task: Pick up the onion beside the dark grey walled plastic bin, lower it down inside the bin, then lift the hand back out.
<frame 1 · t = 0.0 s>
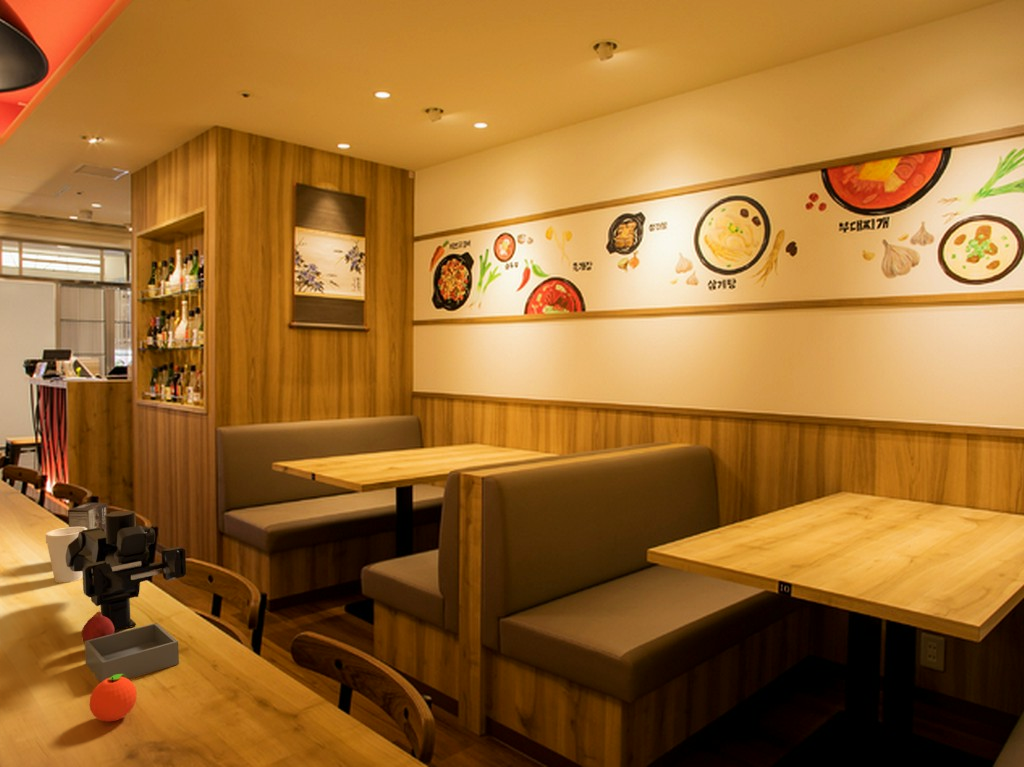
hand: (149, 580, 140), 17 cm above the table, tool horizontal, fingers open, 9 cm apart
onion: (99, 650, 147), on the table
clementine: (115, 718, 120), on the table
bin: (132, 663, 140), on the table
coffee box: (90, 561, 208), on the table
foam cup: (69, 579, 192), on the table
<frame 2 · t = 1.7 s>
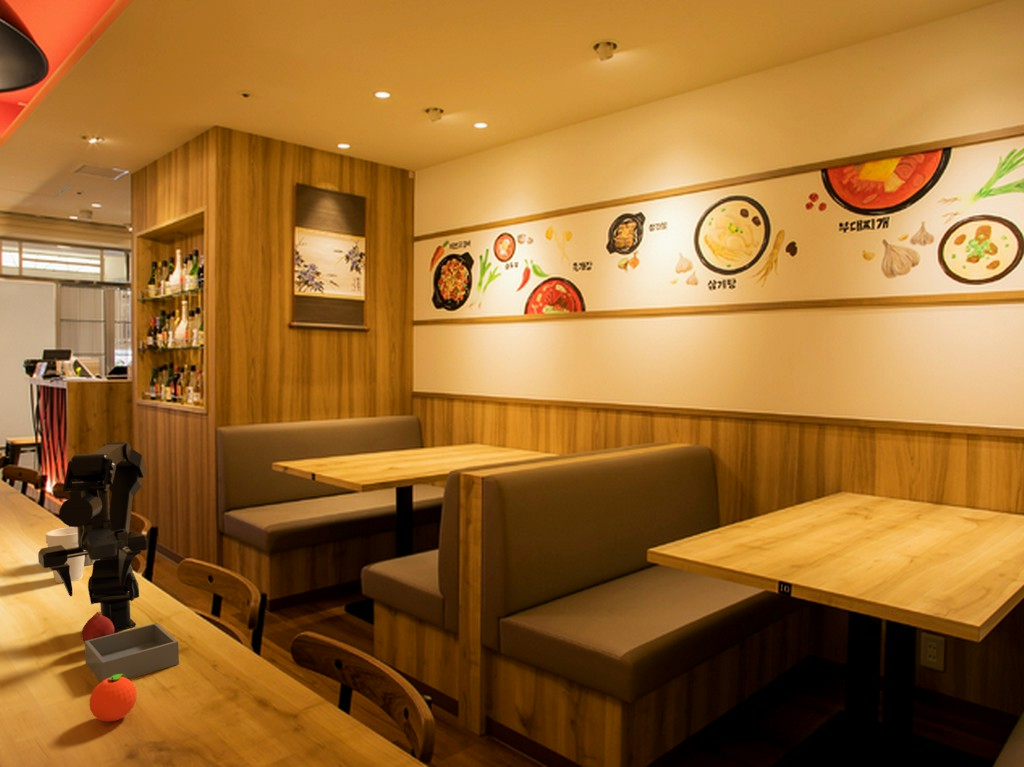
hand: (96, 590, 146), 12 cm above the table, tool pointing down, fingers open, 9 cm apart
nothing on the table moved.
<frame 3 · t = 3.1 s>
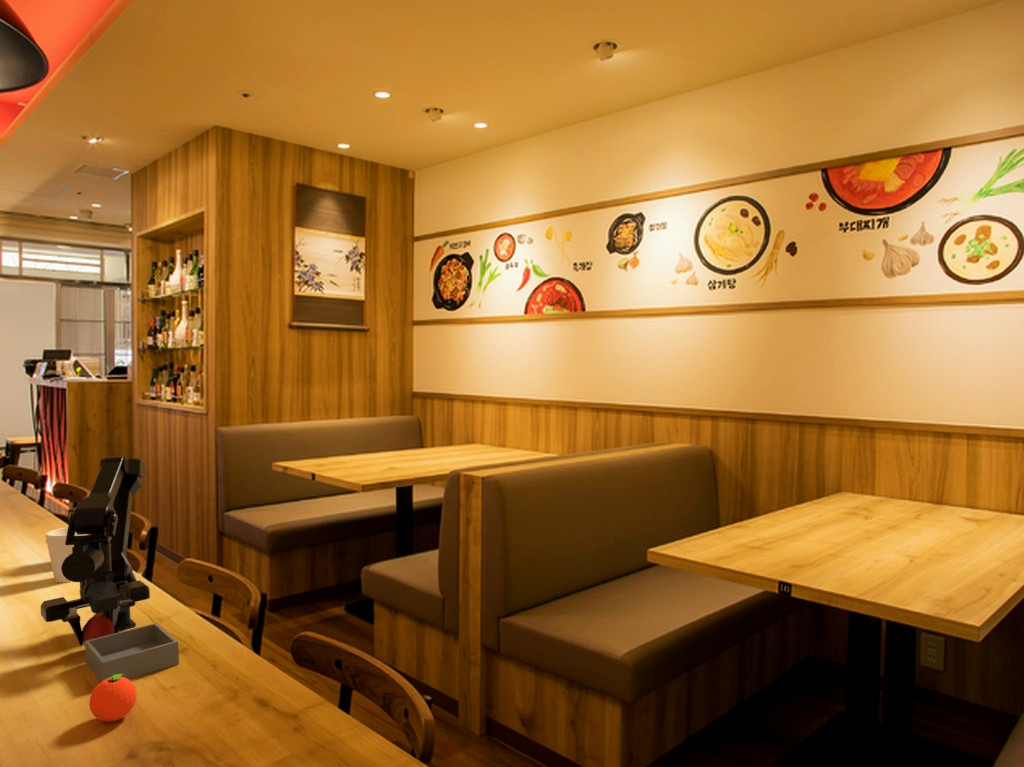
hand: (98, 640, 147), 2 cm above the table, tool pointing down, fingers closed on onion, 6 cm apart
onion: (99, 650, 147), on the table, touching gripper
everything else where it was.
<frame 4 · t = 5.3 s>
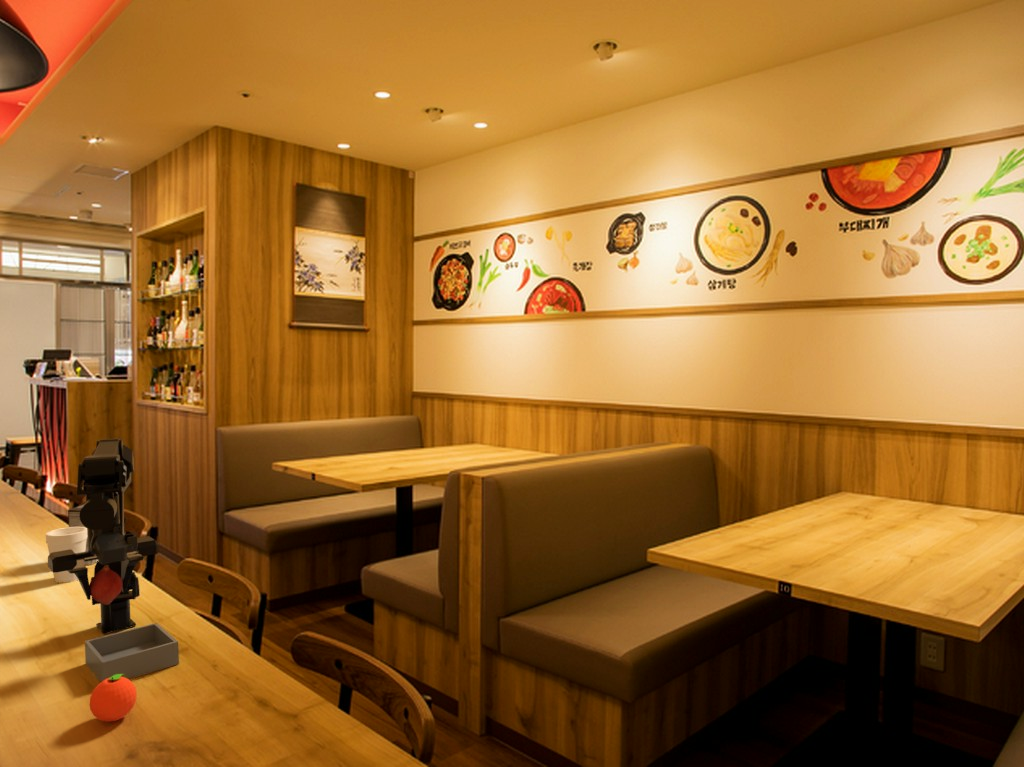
hand: (106, 595, 144), 12 cm above the table, tool pointing down, fingers closed on onion, 6 cm apart
onion: (106, 605, 144), point 10 cm above the table, touching gripper
everything else where it was.
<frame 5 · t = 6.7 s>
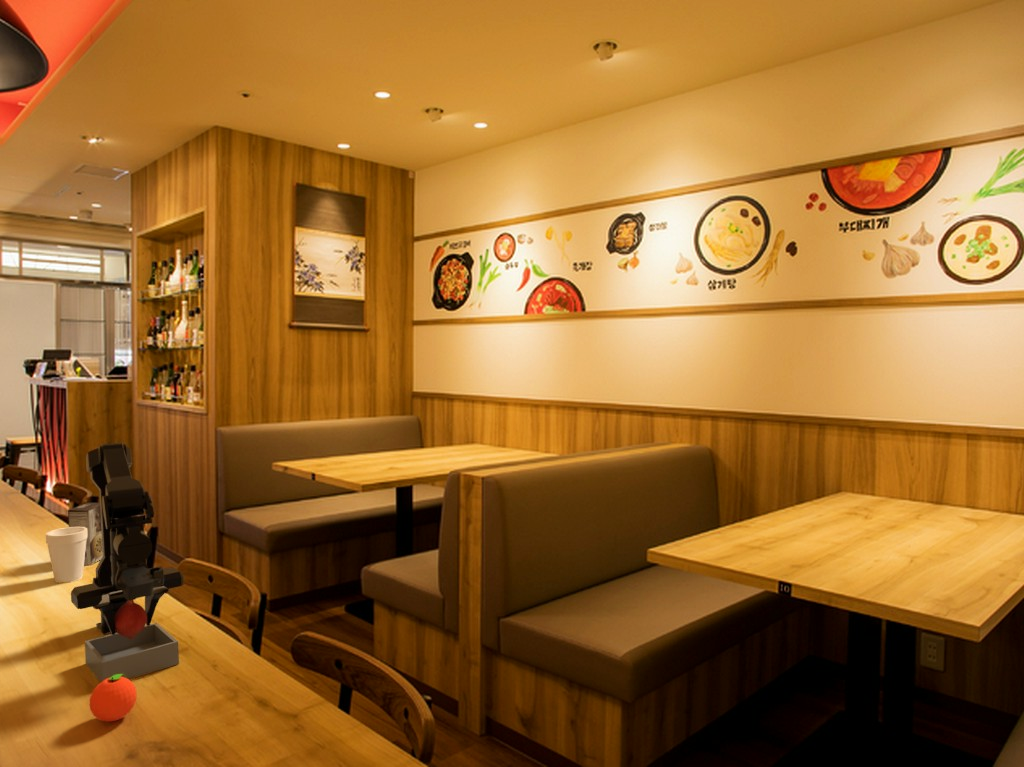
hand: (130, 629, 140), 7 cm above the table, tool pointing down, fingers closed on onion, 6 cm apart
onion: (130, 639, 140), point 5 cm above the table, touching gripper
everything else where it was.
when the fingers open (5 cm above the table, at t = 7.5 s): onion drops 2 cm, resting on bin.
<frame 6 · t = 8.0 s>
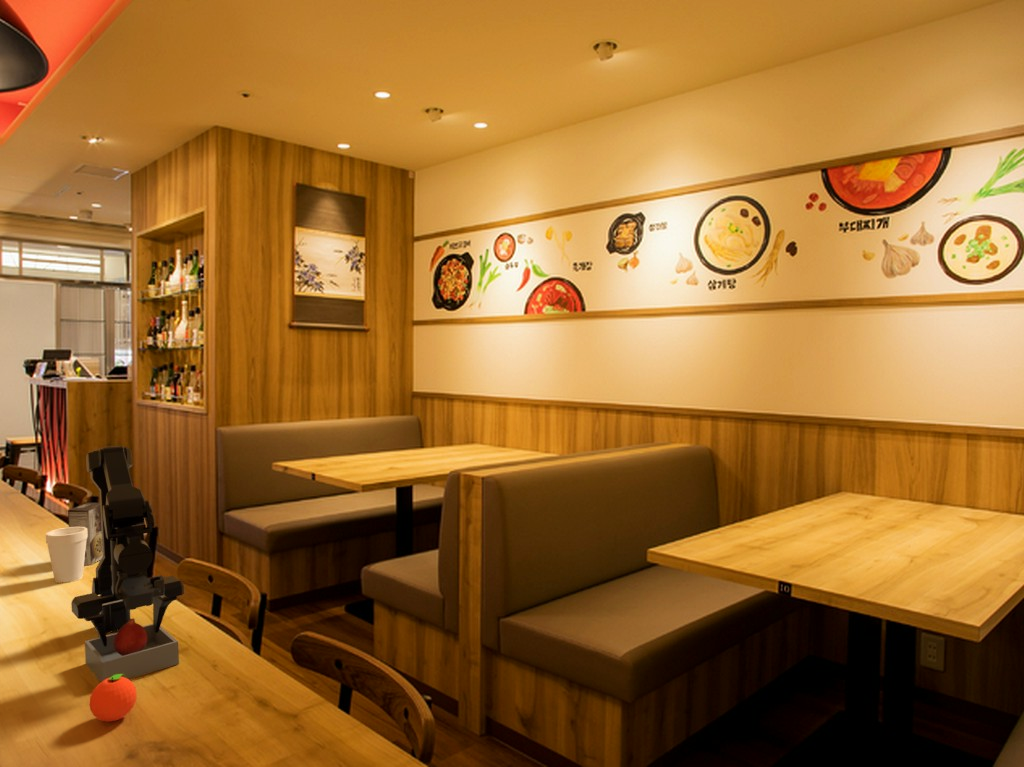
hand: (131, 638, 140), 5 cm above the table, tool pointing down, fingers open, 9 cm apart
onion: (130, 659, 140), point 1 cm above the table, touching bin
everything else where it was.
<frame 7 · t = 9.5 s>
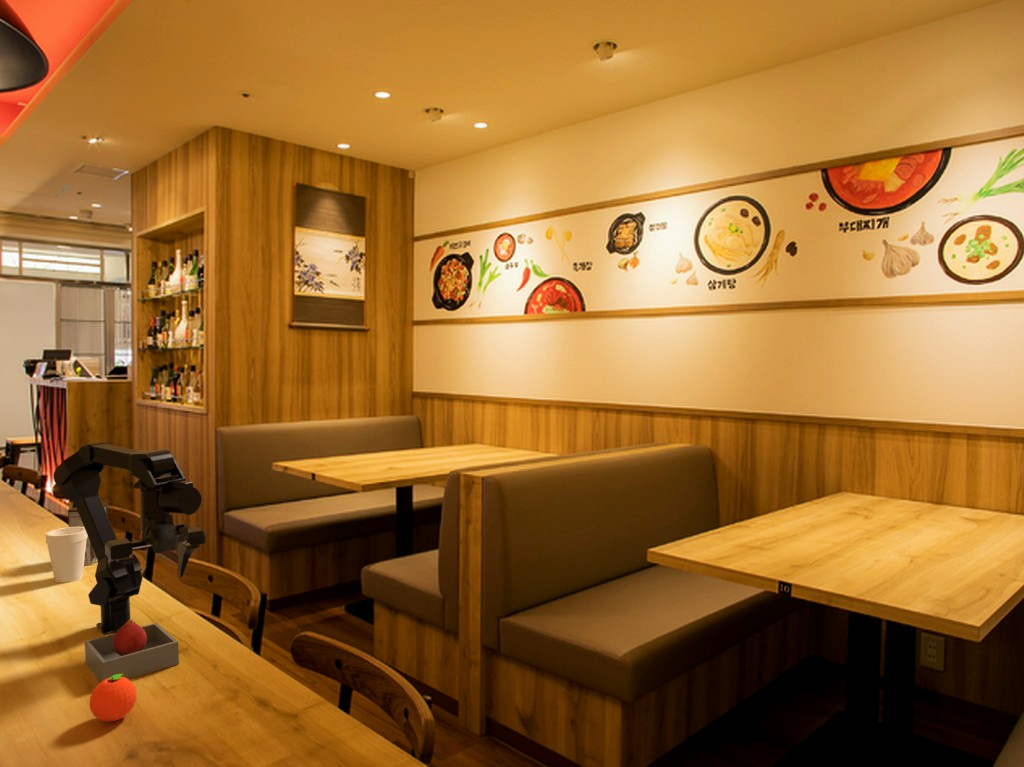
hand: (158, 581, 153), 12 cm above the table, tool pointing down, fingers open, 9 cm apart
nothing on the table moved.
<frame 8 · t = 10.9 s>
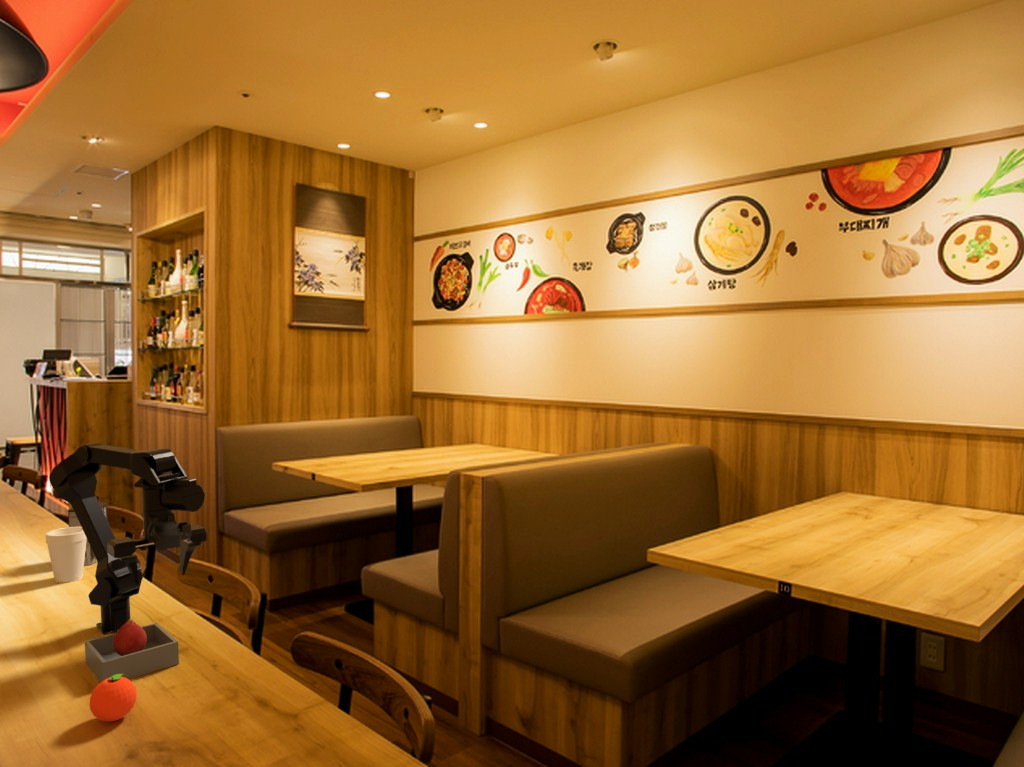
hand: (160, 579, 154), 12 cm above the table, tool pointing down, fingers open, 9 cm apart
nothing on the table moved.
at the end: onion inside the target area on the bin (0.2 cm from its centre), point 0.8 cm above the bin's base; the gripper is holding nothing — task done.
